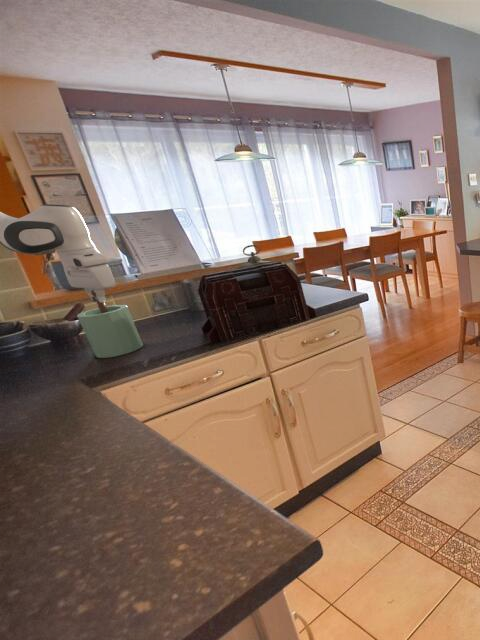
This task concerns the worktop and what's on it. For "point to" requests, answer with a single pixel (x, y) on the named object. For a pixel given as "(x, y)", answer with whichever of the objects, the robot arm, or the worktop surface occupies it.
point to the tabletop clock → (253, 259)
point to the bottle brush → (100, 304)
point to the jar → (110, 331)
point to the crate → (251, 301)
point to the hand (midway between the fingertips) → (99, 301)
